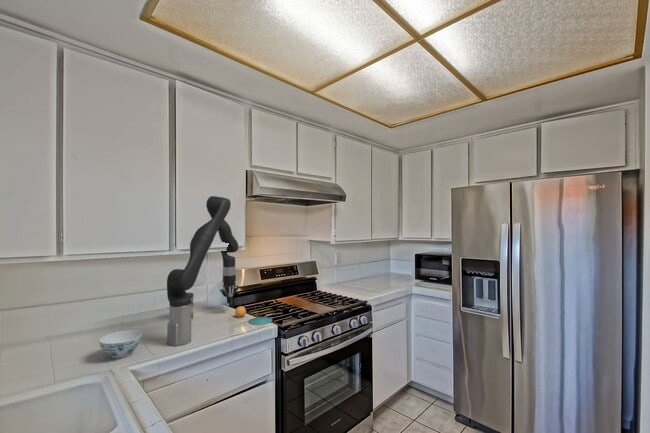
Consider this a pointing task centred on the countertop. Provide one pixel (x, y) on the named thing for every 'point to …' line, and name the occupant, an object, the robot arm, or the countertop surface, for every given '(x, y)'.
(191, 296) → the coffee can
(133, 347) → the chinaware
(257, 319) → the disc
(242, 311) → the ball
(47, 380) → the countertop surface
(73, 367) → the countertop surface
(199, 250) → the robot arm
